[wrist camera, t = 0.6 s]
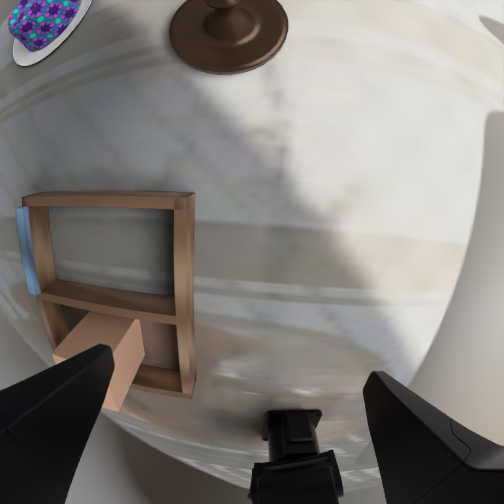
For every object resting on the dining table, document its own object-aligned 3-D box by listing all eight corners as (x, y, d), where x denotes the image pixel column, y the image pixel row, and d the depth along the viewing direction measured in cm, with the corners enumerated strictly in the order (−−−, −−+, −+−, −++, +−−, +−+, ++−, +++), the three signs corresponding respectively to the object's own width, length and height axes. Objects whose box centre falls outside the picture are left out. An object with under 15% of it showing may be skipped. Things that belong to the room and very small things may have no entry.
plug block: (145, 354, 25) (118, 412, 17) (103, 346, 24) (70, 396, 17) (138, 313, 23) (102, 369, 15) (94, 306, 23) (51, 353, 15)
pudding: (23, 14, 12) (0, 3, 7) (102, -36, 11) (82, -56, 6) (12, 86, 15) (-19, 81, 10) (95, 32, 15) (66, 12, 10)
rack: (196, 378, 25) (190, 405, 22) (70, 351, 25) (55, 371, 21) (195, 192, 20) (183, 199, 16) (41, 192, 19) (15, 198, 16)
